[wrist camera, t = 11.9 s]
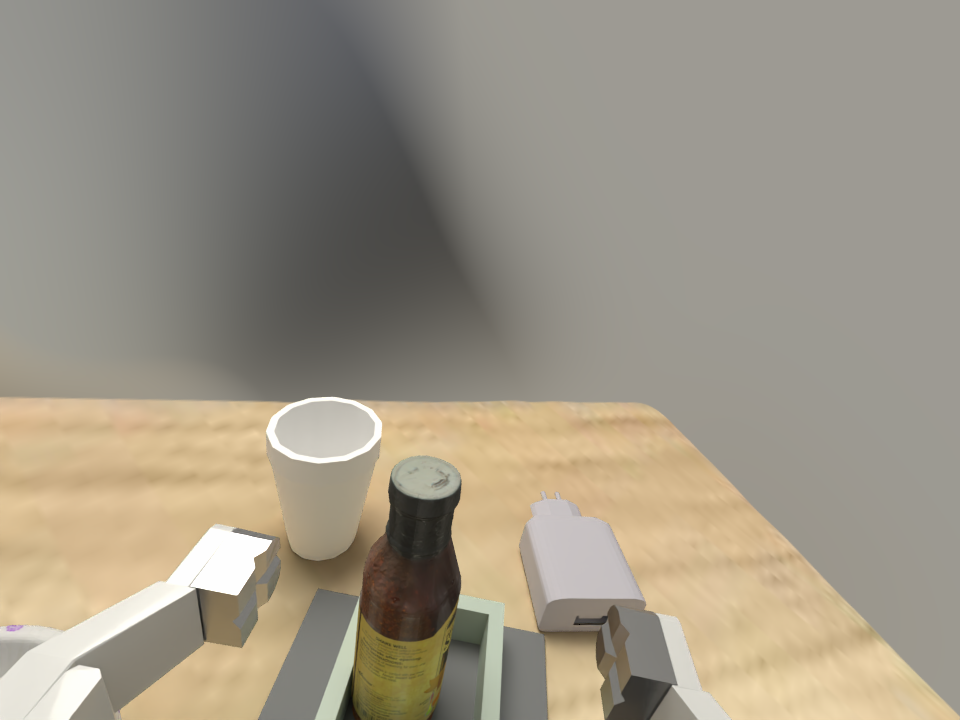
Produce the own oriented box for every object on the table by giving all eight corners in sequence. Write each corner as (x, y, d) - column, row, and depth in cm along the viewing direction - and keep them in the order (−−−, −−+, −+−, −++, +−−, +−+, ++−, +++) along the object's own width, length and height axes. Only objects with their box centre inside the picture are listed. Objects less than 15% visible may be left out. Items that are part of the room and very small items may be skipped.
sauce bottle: (448, 732, 32) (506, 514, 24) (356, 766, 29) (387, 533, 21) (422, 643, 37) (462, 441, 29) (342, 665, 34) (363, 449, 26)
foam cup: (251, 564, 41) (243, 450, 35) (295, 492, 49) (294, 389, 43) (356, 583, 41) (365, 472, 35) (382, 507, 49) (393, 408, 44)
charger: (580, 509, 55) (632, 632, 42) (507, 506, 53) (536, 633, 40) (592, 479, 53) (649, 599, 40) (515, 475, 51) (549, 599, 38)
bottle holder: (299, 794, 28) (299, 762, 26) (363, 606, 39) (366, 575, 37) (482, 832, 28) (495, 802, 26) (495, 633, 39) (504, 603, 37)
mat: (200, 847, 25) (200, 844, 25) (318, 591, 40) (318, 588, 40) (553, 918, 25) (555, 916, 25) (543, 637, 40) (544, 634, 40)
